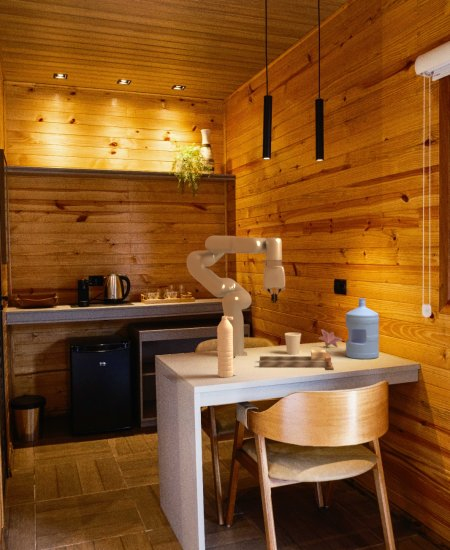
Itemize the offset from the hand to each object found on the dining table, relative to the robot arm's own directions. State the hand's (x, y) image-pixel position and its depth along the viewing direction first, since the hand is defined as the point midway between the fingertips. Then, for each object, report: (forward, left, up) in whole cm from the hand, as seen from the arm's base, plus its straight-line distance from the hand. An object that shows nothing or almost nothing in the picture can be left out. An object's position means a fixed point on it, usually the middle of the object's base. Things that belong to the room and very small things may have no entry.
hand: (274, 302), depth 266 cm
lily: (+29, +31, -27) cm, 51 cm away
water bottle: (-20, -36, -27) cm, 49 cm away
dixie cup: (+9, +15, -27) cm, 32 cm away
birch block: (+19, -17, -26) cm, 36 cm away
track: (+9, -16, -27) cm, 33 cm away
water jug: (+42, +8, -27) cm, 51 cm away
